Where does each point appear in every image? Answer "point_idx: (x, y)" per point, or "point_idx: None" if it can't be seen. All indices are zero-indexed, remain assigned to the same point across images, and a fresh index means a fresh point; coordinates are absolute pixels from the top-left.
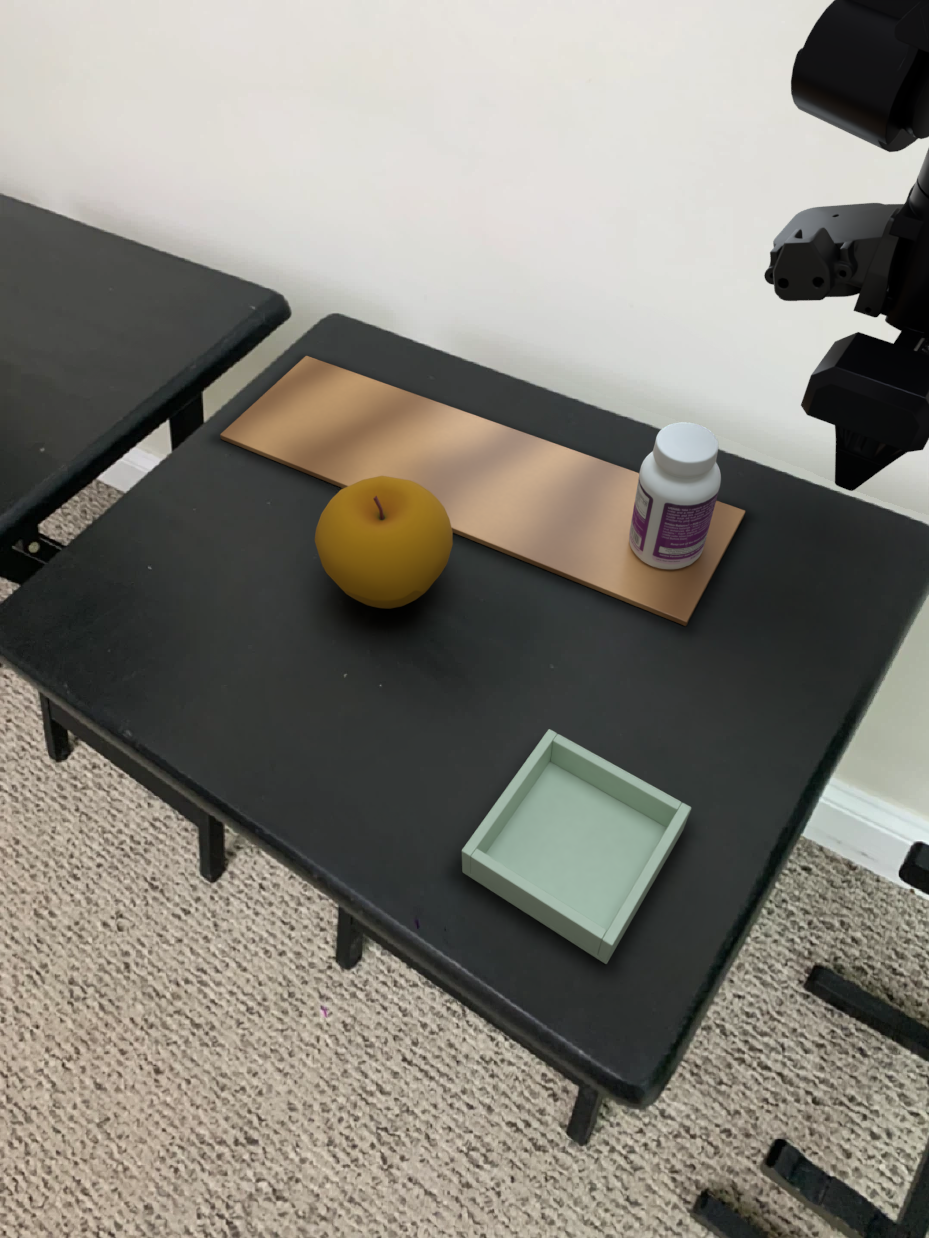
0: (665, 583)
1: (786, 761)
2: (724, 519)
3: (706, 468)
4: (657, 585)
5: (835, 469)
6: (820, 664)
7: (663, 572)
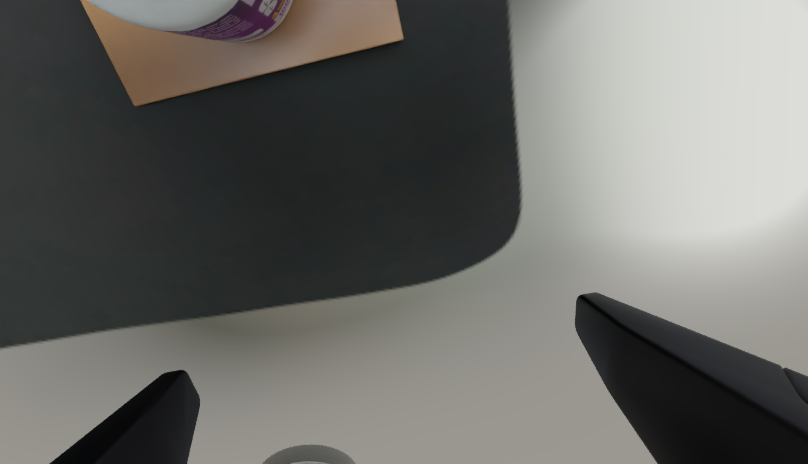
0: None
1: (104, 306)
2: (360, 21)
3: None
4: None
5: (102, 422)
6: (247, 265)
7: None
